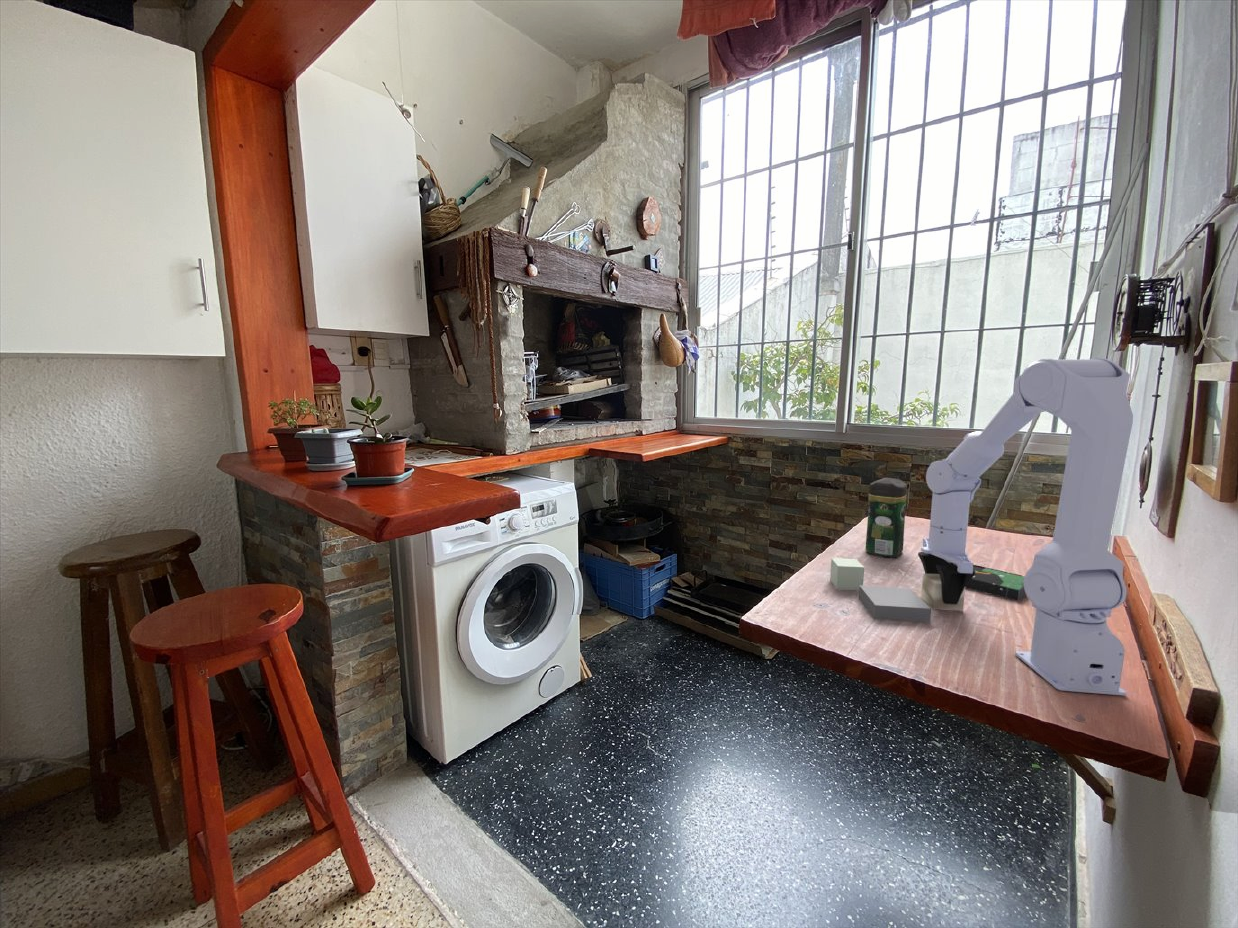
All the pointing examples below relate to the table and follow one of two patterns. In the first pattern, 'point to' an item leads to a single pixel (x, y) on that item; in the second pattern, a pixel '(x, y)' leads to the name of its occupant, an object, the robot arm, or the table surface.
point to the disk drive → (997, 583)
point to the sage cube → (846, 573)
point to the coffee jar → (886, 517)
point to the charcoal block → (894, 604)
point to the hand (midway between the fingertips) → (942, 596)
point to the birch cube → (937, 593)
